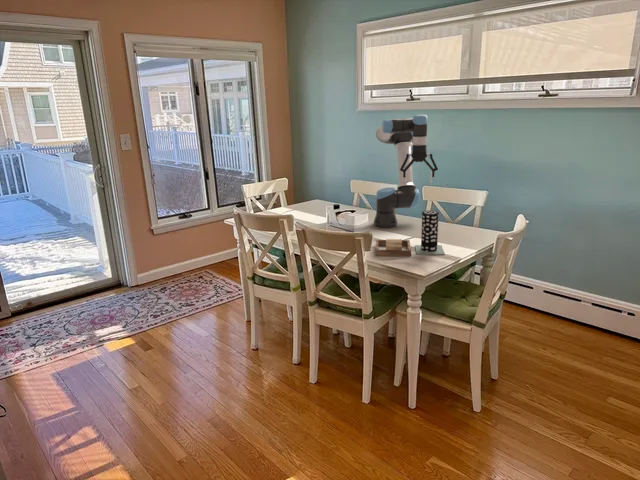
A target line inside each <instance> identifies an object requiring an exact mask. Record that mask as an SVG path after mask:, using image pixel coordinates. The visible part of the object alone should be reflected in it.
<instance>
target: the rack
mask: <svg viewBox="0 0 640 480" xmlns="http://www.w3.org/2000/svg"><path fill="white" fill-rule="evenodd" d="M379 246H381V247H382V246H383V247H384V246H385V247H386V239H375V257H412V247H411V241H410V239H402V247H407V248H406V249H402V250H386V249H379Z"/></svg>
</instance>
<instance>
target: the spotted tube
mask: <svg viewBox="0 0 640 480" xmlns="http://www.w3.org/2000/svg"><path fill="white" fill-rule="evenodd" d="M439 213H440V212H439V211H438V210H424V211H422V212H421V237H420V239H421V241H420V245H421V250H423V251H426V252H433V251H436V250H437V245H438V243H439V242H438V239H439V237H438V236H439V215H440V214H439Z"/></svg>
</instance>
